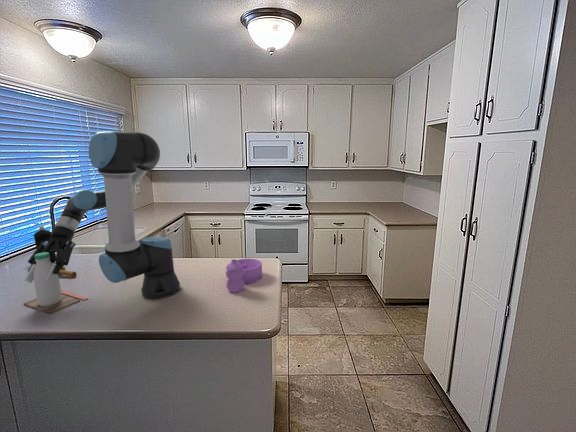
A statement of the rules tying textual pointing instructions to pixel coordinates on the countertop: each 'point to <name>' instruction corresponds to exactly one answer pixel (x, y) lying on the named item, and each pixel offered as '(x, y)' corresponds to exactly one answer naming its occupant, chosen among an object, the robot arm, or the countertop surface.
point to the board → (50, 309)
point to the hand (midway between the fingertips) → (38, 281)
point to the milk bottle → (44, 289)
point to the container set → (242, 273)
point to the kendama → (67, 272)
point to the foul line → (74, 295)
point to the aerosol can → (44, 236)
